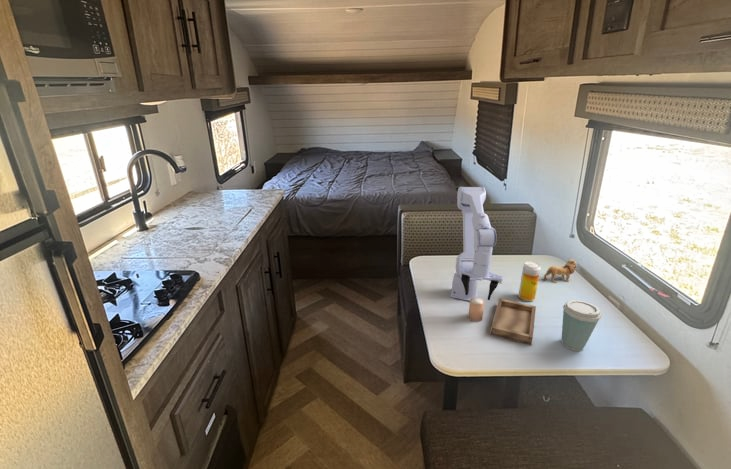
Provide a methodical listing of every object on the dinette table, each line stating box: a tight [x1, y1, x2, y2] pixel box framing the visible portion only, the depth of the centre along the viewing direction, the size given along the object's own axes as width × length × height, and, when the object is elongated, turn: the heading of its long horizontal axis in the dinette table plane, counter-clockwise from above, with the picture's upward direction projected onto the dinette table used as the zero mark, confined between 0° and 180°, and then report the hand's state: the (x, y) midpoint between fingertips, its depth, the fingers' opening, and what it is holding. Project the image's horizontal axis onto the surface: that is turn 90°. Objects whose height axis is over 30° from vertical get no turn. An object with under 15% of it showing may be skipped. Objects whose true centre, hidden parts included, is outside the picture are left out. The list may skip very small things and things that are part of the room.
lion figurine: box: [542, 259, 578, 283], centre depth 161 cm, size 15×5×9 cm, turn 103°
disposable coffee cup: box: [561, 299, 602, 352], centre depth 120 cm, size 11×11×15 cm
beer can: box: [518, 260, 541, 302], centre depth 146 cm, size 6×6×15 cm
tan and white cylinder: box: [467, 297, 485, 323], centre depth 136 cm, size 5×5×7 cm
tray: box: [490, 298, 537, 346], centre depth 133 cm, size 13×20×3 cm, turn 155°
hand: (477, 296), depth 134 cm, fingers open, 7 cm apart
